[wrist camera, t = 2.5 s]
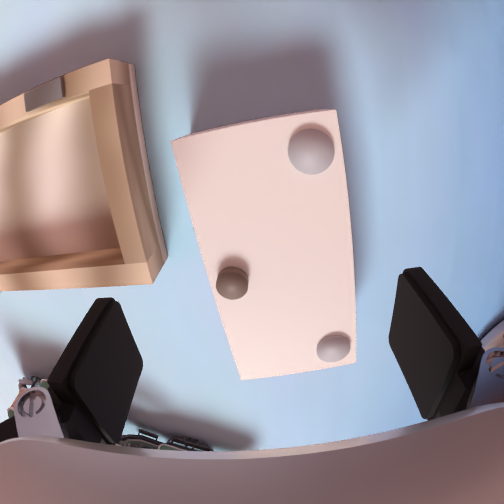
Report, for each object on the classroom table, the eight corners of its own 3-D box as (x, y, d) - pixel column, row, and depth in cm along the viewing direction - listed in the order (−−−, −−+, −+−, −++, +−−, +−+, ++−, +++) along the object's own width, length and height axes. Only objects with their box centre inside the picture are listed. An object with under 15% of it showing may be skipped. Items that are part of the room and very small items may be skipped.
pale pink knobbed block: (191, 133, 15) (167, 142, 11) (318, 109, 15) (338, 109, 11) (244, 335, 21) (240, 386, 17) (342, 320, 20) (357, 368, 16)
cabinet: (134, 64, 14) (106, 57, 11) (168, 257, 18) (150, 287, 15) (-51, 147, 15) (-80, 158, 12) (-16, 273, 19) (-40, 293, 16)
